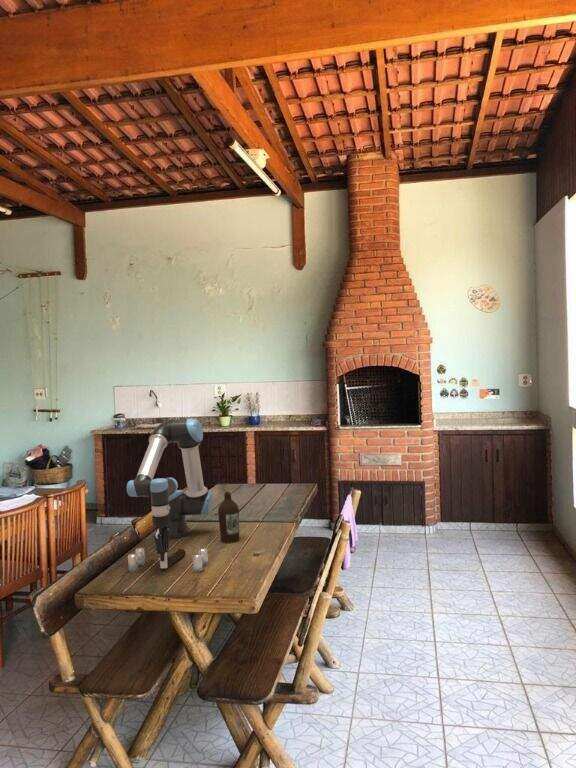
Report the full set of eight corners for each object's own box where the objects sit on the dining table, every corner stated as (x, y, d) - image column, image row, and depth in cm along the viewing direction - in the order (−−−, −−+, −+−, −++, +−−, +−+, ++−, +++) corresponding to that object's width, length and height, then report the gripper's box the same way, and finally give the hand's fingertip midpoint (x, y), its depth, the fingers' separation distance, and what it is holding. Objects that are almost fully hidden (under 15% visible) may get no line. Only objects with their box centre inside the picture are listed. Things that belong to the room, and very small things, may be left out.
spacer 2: (138, 562, 265) (137, 547, 265) (146, 562, 265) (145, 547, 265) (134, 565, 262) (133, 550, 261) (143, 565, 261) (142, 550, 261)
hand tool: (178, 556, 271) (177, 546, 271) (185, 556, 270) (185, 547, 270) (157, 570, 254) (156, 560, 253) (165, 571, 252) (164, 560, 252)
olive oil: (216, 540, 294) (213, 491, 293) (234, 535, 300) (231, 488, 299) (225, 544, 285) (222, 495, 284) (244, 540, 291) (241, 491, 290)
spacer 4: (200, 562, 261) (199, 547, 260) (209, 562, 260) (208, 547, 260) (197, 566, 257) (197, 550, 256) (206, 566, 256) (205, 550, 256)
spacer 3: (195, 569, 253) (194, 553, 252) (203, 569, 252) (202, 553, 252) (192, 572, 249) (191, 556, 249) (201, 572, 248) (200, 556, 248)
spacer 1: (131, 568, 258) (130, 553, 257) (139, 568, 257) (138, 553, 257) (127, 572, 254) (126, 556, 253) (135, 572, 253) (134, 556, 253)
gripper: (163, 518, 244) (166, 573, 245) (174, 510, 257) (177, 562, 257) (146, 518, 245) (150, 573, 246) (158, 510, 258) (161, 562, 259)
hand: (164, 567), depth 252 cm, fingers closed
